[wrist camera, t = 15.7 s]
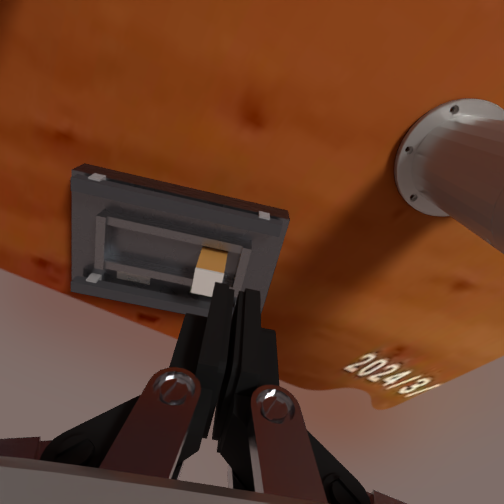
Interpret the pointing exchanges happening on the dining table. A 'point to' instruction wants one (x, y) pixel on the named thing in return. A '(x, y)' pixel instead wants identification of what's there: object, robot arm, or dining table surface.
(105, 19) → the dining table surface
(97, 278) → the pair of grey rails
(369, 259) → the dining table surface
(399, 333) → the dining table surface
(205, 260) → the block
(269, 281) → the panel
